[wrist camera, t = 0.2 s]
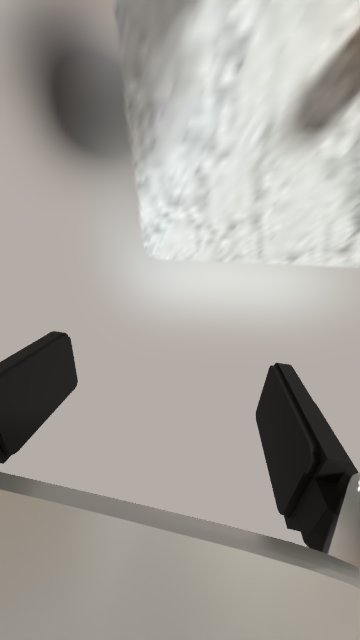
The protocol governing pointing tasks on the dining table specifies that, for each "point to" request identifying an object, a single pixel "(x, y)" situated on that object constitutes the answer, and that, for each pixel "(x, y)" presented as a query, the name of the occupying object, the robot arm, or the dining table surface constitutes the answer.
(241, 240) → the dining table surface
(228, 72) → the dining table surface
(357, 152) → the dining table surface
